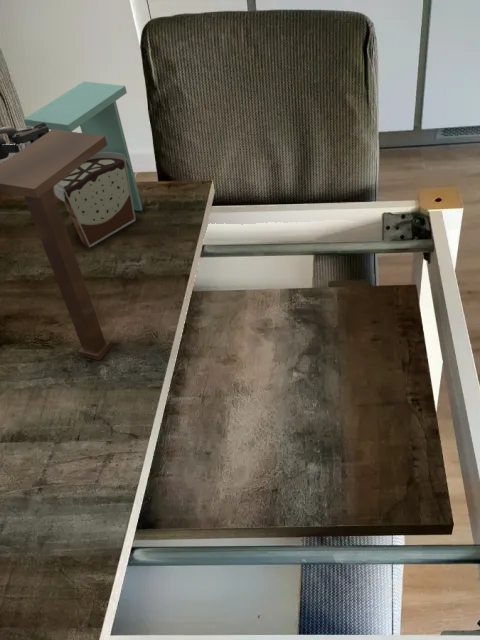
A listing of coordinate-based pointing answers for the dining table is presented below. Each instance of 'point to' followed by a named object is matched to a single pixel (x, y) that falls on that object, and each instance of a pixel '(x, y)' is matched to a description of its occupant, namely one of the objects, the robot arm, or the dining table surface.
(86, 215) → the food container
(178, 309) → the dining table surface
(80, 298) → the side stand
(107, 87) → the teal plank stand
